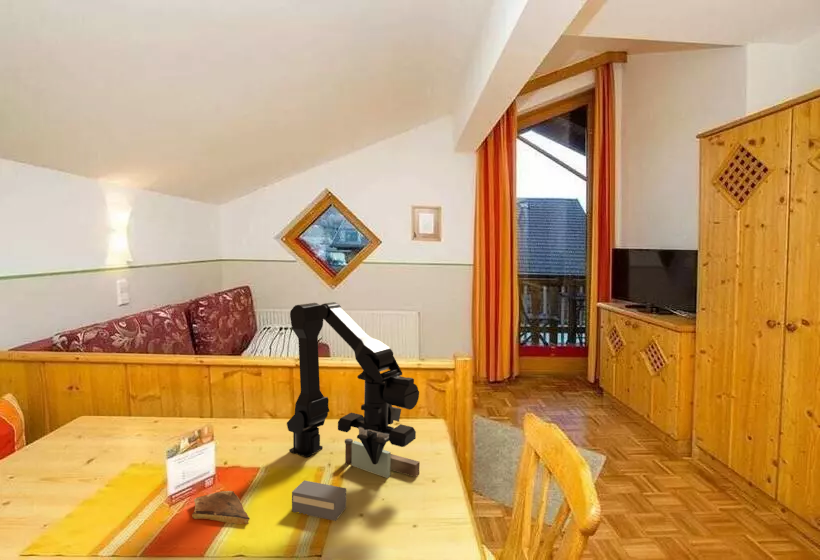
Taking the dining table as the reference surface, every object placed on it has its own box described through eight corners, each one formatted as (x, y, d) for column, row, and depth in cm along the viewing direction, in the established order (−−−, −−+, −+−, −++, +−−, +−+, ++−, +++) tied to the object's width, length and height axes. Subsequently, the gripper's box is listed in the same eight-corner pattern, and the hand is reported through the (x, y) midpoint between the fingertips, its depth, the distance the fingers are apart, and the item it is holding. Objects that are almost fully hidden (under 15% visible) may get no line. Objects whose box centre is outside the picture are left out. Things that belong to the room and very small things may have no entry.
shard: (250, 527, 93) (249, 516, 92) (199, 543, 88) (199, 532, 87) (234, 496, 104) (233, 487, 103) (188, 509, 98) (188, 499, 98)
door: (351, 465, 118) (351, 442, 117) (357, 461, 120) (357, 439, 119) (387, 478, 112) (387, 453, 111) (392, 473, 114) (393, 450, 114)
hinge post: (342, 463, 119) (343, 440, 118) (347, 460, 120) (347, 437, 120) (349, 465, 118) (349, 442, 117) (354, 462, 120) (354, 439, 119)
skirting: (354, 459, 121) (354, 447, 121) (358, 456, 123) (358, 445, 123) (415, 477, 113) (415, 465, 112) (419, 473, 114) (419, 461, 114)
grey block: (291, 513, 97) (291, 492, 97) (304, 500, 102) (304, 480, 102) (335, 522, 94) (335, 501, 94) (346, 508, 99) (346, 488, 99)
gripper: (427, 397, 113) (425, 459, 114) (363, 384, 122) (362, 442, 123) (404, 411, 103) (402, 479, 104) (336, 396, 112) (335, 459, 113)
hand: (375, 463), depth 112 cm, fingers closed
